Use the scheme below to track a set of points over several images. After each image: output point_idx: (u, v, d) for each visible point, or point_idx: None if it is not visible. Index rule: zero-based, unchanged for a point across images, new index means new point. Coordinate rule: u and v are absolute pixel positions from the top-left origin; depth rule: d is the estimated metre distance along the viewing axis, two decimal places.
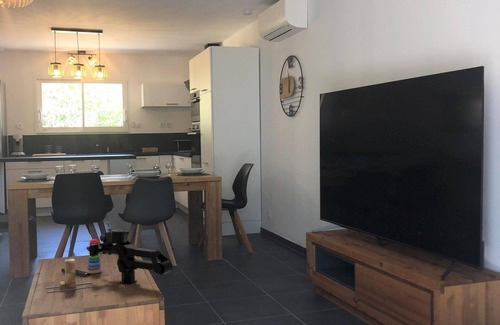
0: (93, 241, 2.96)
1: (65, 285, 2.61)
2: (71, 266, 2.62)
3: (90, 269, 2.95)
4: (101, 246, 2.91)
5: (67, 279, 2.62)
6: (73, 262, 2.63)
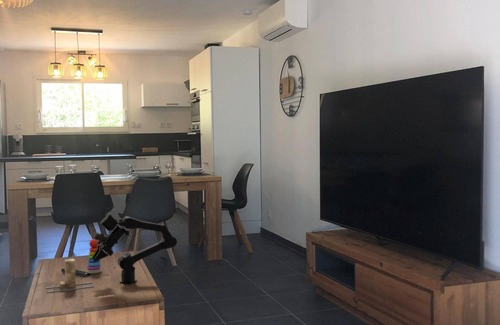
0: (93, 241, 2.96)
1: (65, 285, 2.61)
2: (71, 266, 2.62)
3: (90, 269, 2.95)
4: None
5: (67, 279, 2.62)
6: (73, 262, 2.63)
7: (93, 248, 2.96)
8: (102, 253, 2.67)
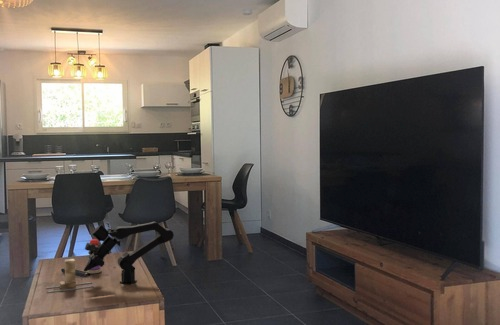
0: (93, 241, 2.96)
1: (65, 285, 2.61)
2: (71, 266, 2.62)
3: (90, 269, 2.95)
4: None
5: (67, 279, 2.62)
6: (73, 262, 2.63)
7: None
8: (93, 263, 2.67)
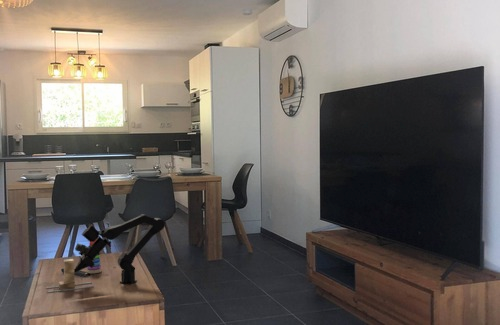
0: None
1: (64, 285, 2.61)
2: (70, 267, 2.62)
3: (90, 269, 2.95)
4: None
5: (66, 279, 2.62)
6: (72, 262, 2.62)
7: None
8: (83, 264, 2.65)
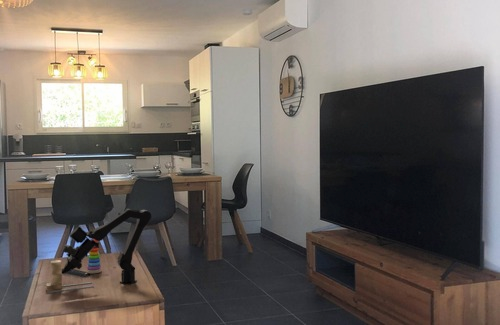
0: None
1: (51, 287, 2.59)
2: (57, 268, 2.60)
3: (90, 269, 2.95)
4: (65, 271, 2.63)
5: (53, 281, 2.59)
6: (59, 263, 2.60)
7: (93, 248, 2.96)
8: (71, 265, 2.63)
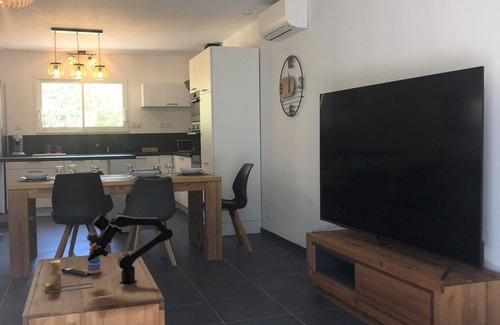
0: None
1: (50, 287, 2.58)
2: (57, 268, 2.60)
3: (90, 269, 2.95)
4: None
5: (52, 281, 2.59)
6: (58, 264, 2.60)
7: None
8: (96, 253, 2.69)
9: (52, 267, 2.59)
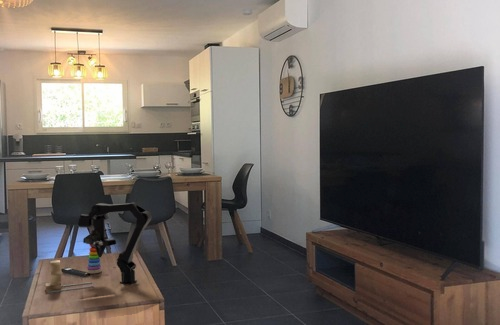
0: None
1: (50, 287, 2.58)
2: (57, 268, 2.60)
3: (90, 269, 2.95)
4: None
5: (52, 281, 2.59)
6: (58, 264, 2.60)
7: (93, 248, 2.96)
8: (102, 246, 2.77)
9: (52, 267, 2.59)
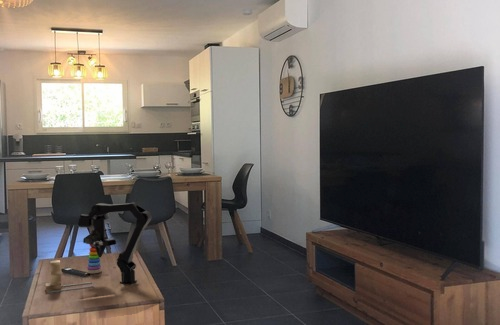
0: None
1: (50, 287, 2.58)
2: (57, 268, 2.60)
3: (90, 269, 2.95)
4: None
5: (52, 281, 2.59)
6: (58, 264, 2.60)
7: (93, 248, 2.96)
8: (102, 246, 2.77)
9: (52, 267, 2.59)
